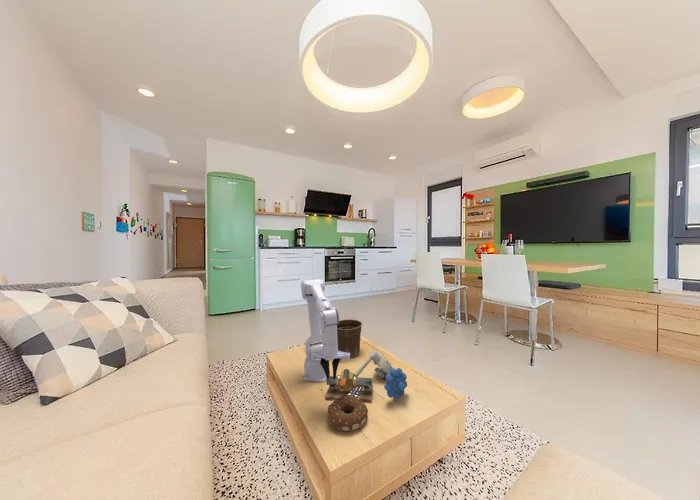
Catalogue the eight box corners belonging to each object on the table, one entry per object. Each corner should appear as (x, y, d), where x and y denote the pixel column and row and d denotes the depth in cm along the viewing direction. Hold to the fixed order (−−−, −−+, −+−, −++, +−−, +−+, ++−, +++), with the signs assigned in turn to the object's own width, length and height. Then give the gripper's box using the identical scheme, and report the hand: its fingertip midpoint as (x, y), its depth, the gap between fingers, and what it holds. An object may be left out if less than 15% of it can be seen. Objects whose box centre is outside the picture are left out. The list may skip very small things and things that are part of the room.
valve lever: (344, 373, 102) (343, 368, 101) (350, 373, 101) (349, 368, 101) (338, 390, 91) (338, 384, 90) (345, 390, 90) (345, 385, 90)
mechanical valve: (401, 374, 108) (378, 351, 106) (374, 408, 104) (349, 385, 101) (390, 364, 118) (370, 343, 116) (365, 396, 114) (343, 374, 111)
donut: (355, 401, 96) (354, 388, 96) (375, 424, 84) (374, 409, 83) (320, 415, 89) (319, 401, 89) (336, 442, 77) (335, 426, 77)
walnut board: (325, 399, 97) (325, 396, 97) (330, 386, 106) (330, 383, 106) (371, 402, 95) (371, 399, 95) (372, 388, 104) (372, 385, 103)
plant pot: (331, 348, 142) (330, 320, 142) (359, 345, 145) (358, 317, 145) (335, 362, 126) (334, 330, 126) (366, 358, 129) (365, 327, 129)
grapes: (394, 411, 89) (393, 378, 89) (381, 401, 95) (379, 370, 94) (415, 397, 96) (414, 367, 96) (402, 389, 102) (401, 360, 101)
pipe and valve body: (326, 393, 99) (325, 377, 99) (329, 386, 104) (328, 371, 104) (371, 395, 97) (371, 379, 96) (372, 388, 101) (372, 373, 101)
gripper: (307, 346, 90) (309, 382, 91) (347, 347, 88) (349, 384, 89) (313, 338, 97) (315, 372, 98) (350, 338, 95) (351, 373, 96)
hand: (331, 377), depth 94 cm, fingers closed
